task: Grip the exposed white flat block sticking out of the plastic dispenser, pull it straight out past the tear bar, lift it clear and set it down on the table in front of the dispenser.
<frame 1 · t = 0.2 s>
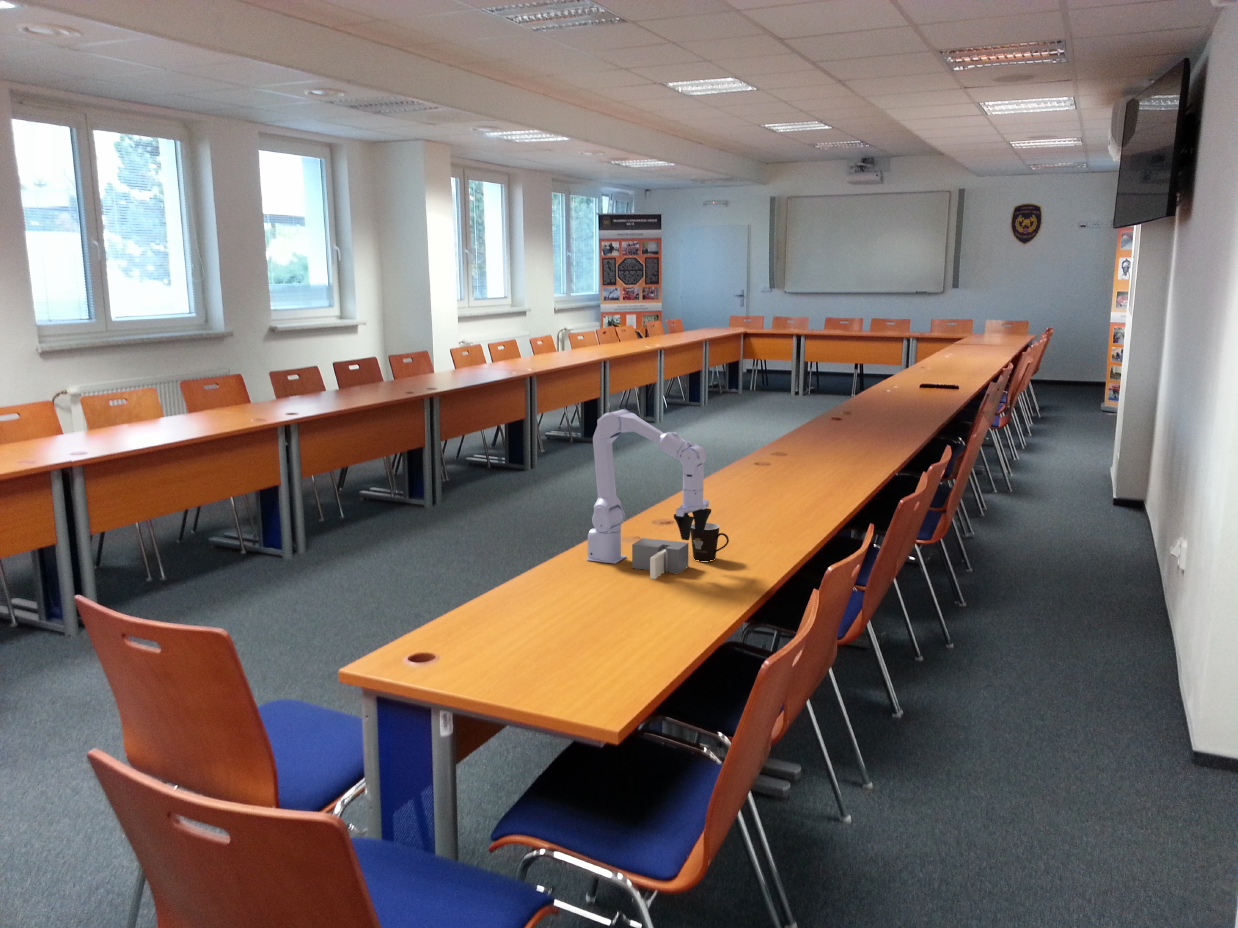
hand: (692, 536, 259), 10 cm above the table, tool pointing down, fingers open, 7 cm apart
coffee mug: (707, 561, 271), on the table
white flat block: (659, 574, 258), on the table
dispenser: (660, 567, 264), on the table
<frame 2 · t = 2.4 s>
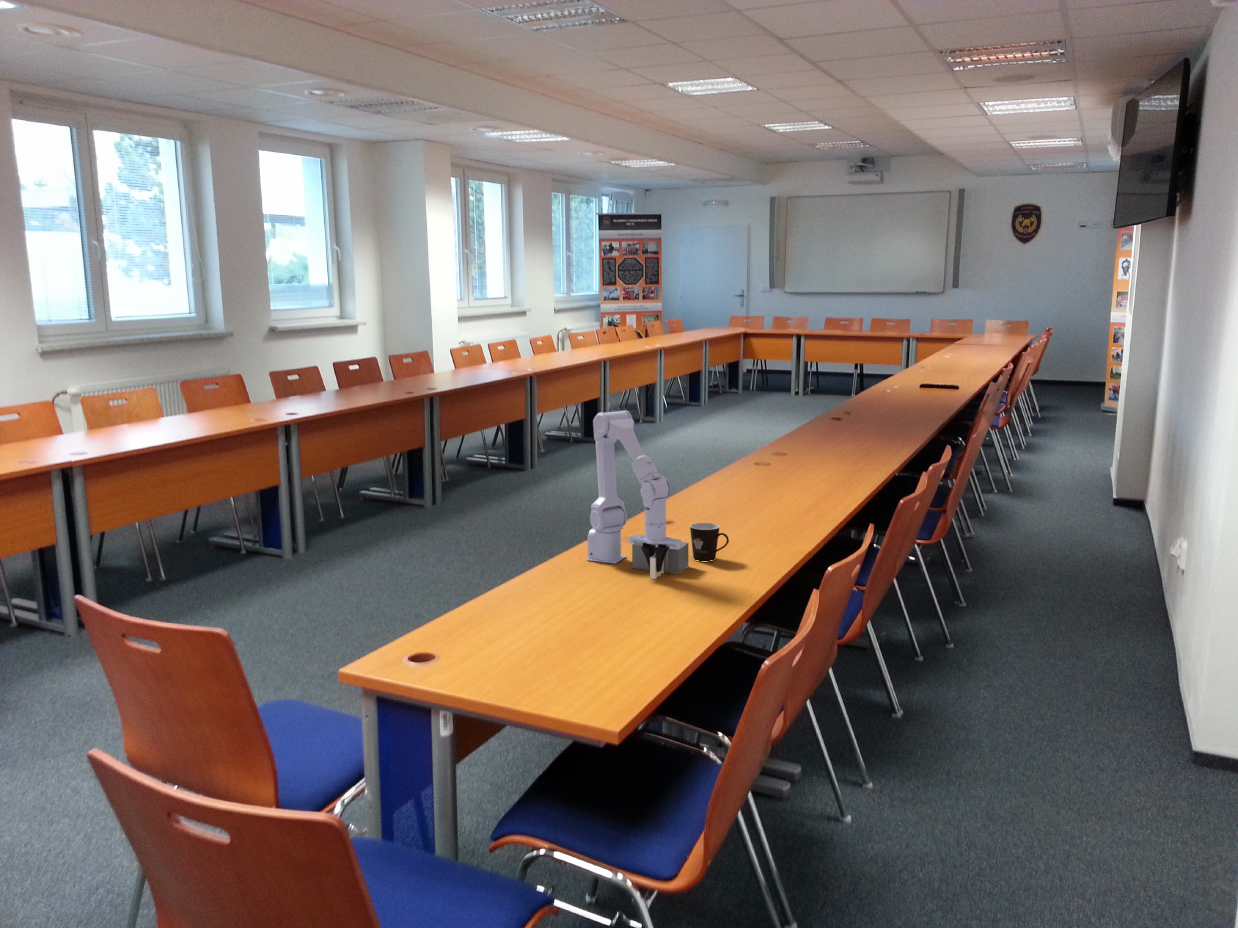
hand: (655, 570, 255), 2 cm above the table, tool pointing down, fingers closed on white flat block, 1 cm apart
white flat block: (659, 573, 258), on the table, touching gripper
everything else where it was.
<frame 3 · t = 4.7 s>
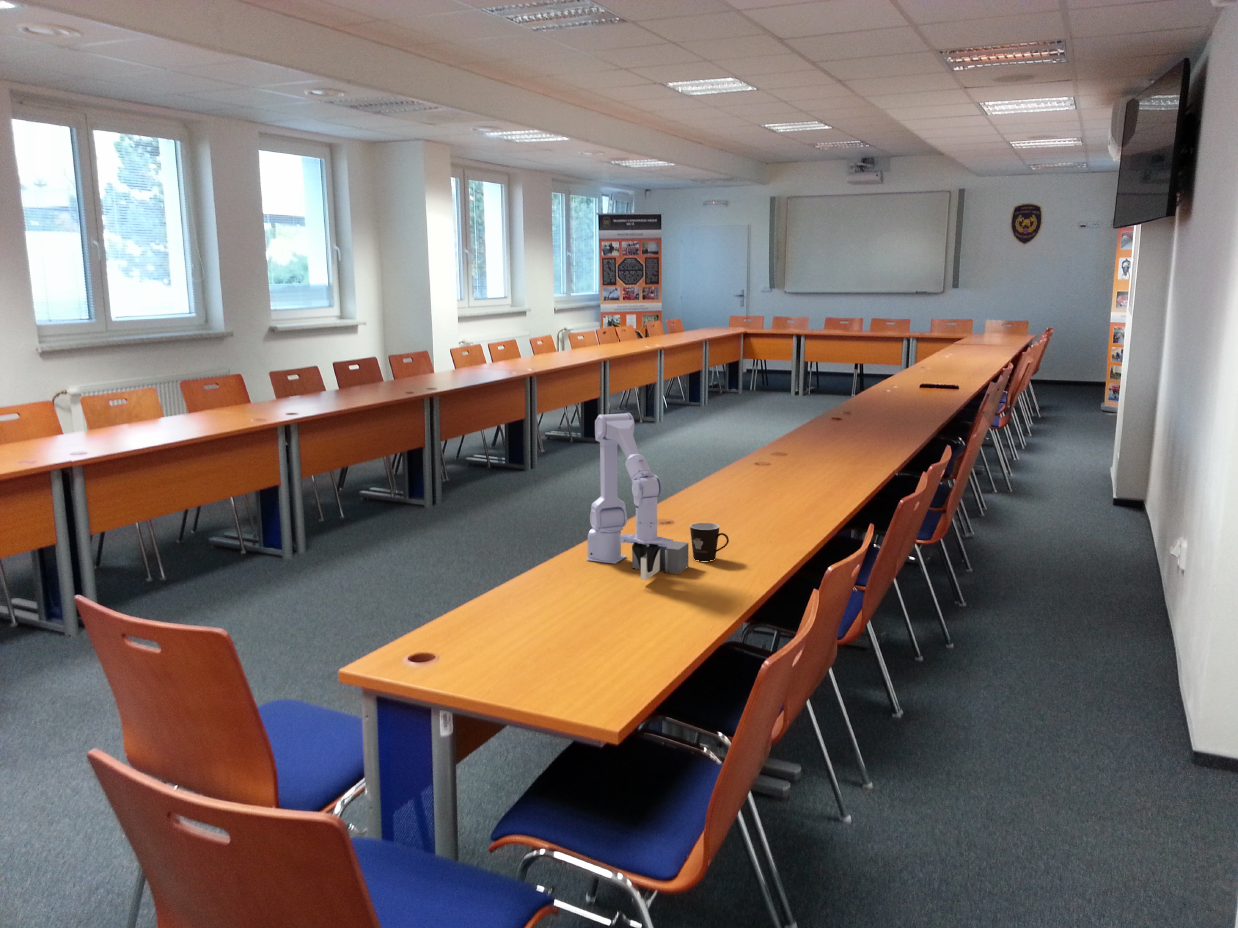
hand: (646, 570, 249), 4 cm above the table, tool pointing down, fingers closed on white flat block, 1 cm apart
white flat block: (650, 575, 252), point 2 cm above the table, touching gripper
everything else where it was.
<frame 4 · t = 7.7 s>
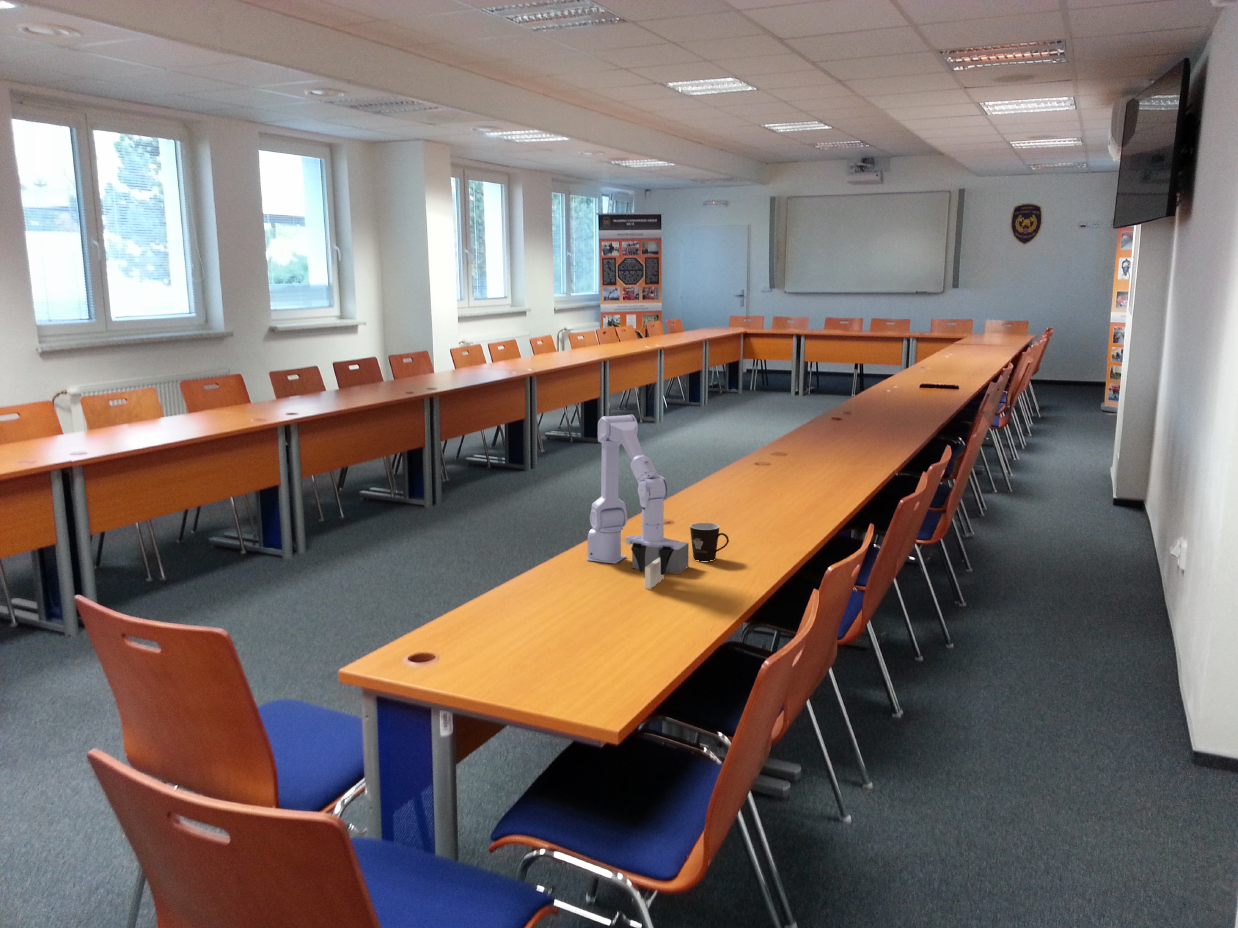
hand: (652, 572, 248), 3 cm above the table, tool pointing down, fingers open, 5 cm apart
white flat block: (654, 583, 250), on the table
everything else where it was.
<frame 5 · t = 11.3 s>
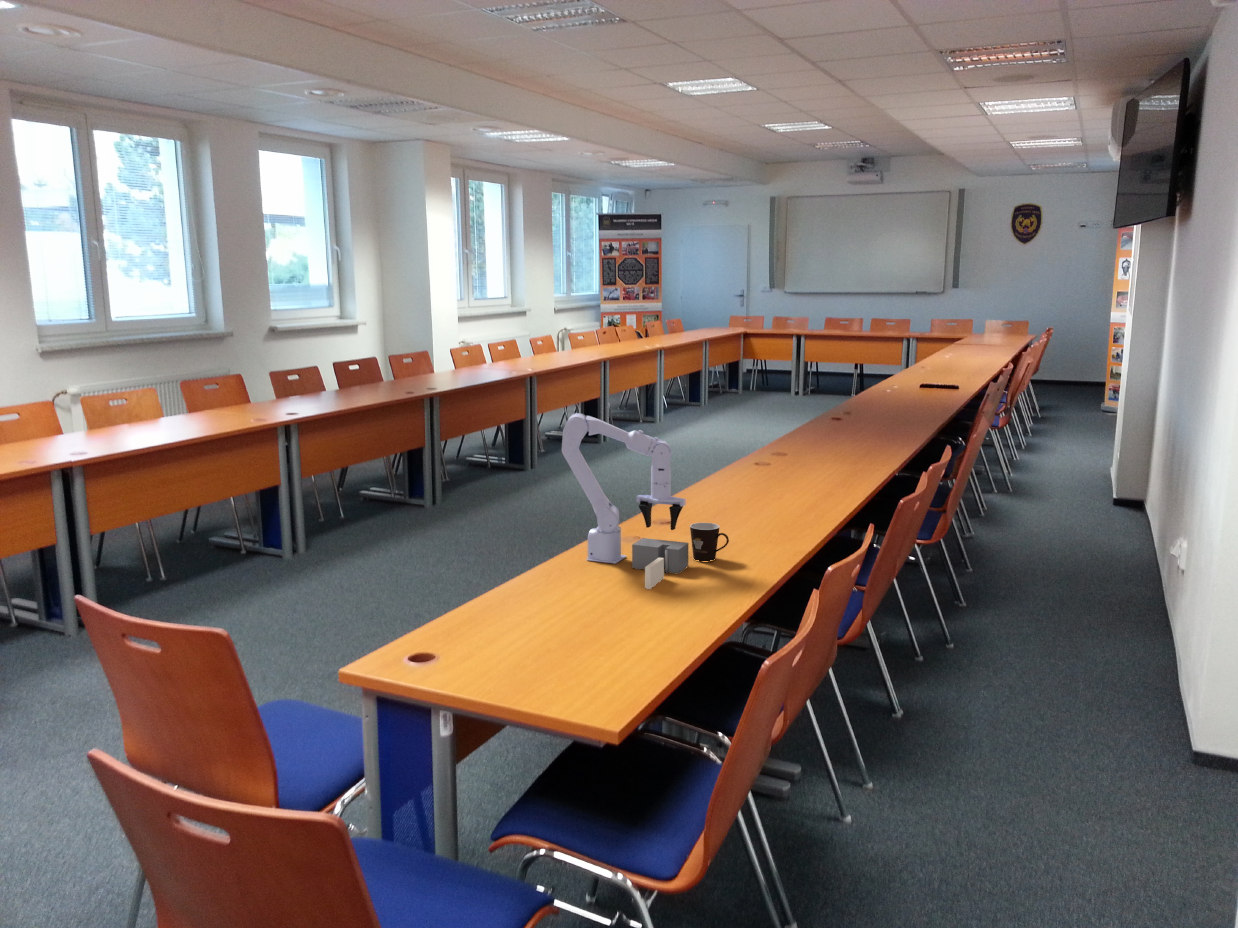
hand: (660, 528, 271), 9 cm above the table, tool pointing down, fingers open, 7 cm apart
nothing on the table moved.
at the end: white flat block inside the target area (1.2 cm from its centre), on the table; white flat block touching table; the gripper is holding nothing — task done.
